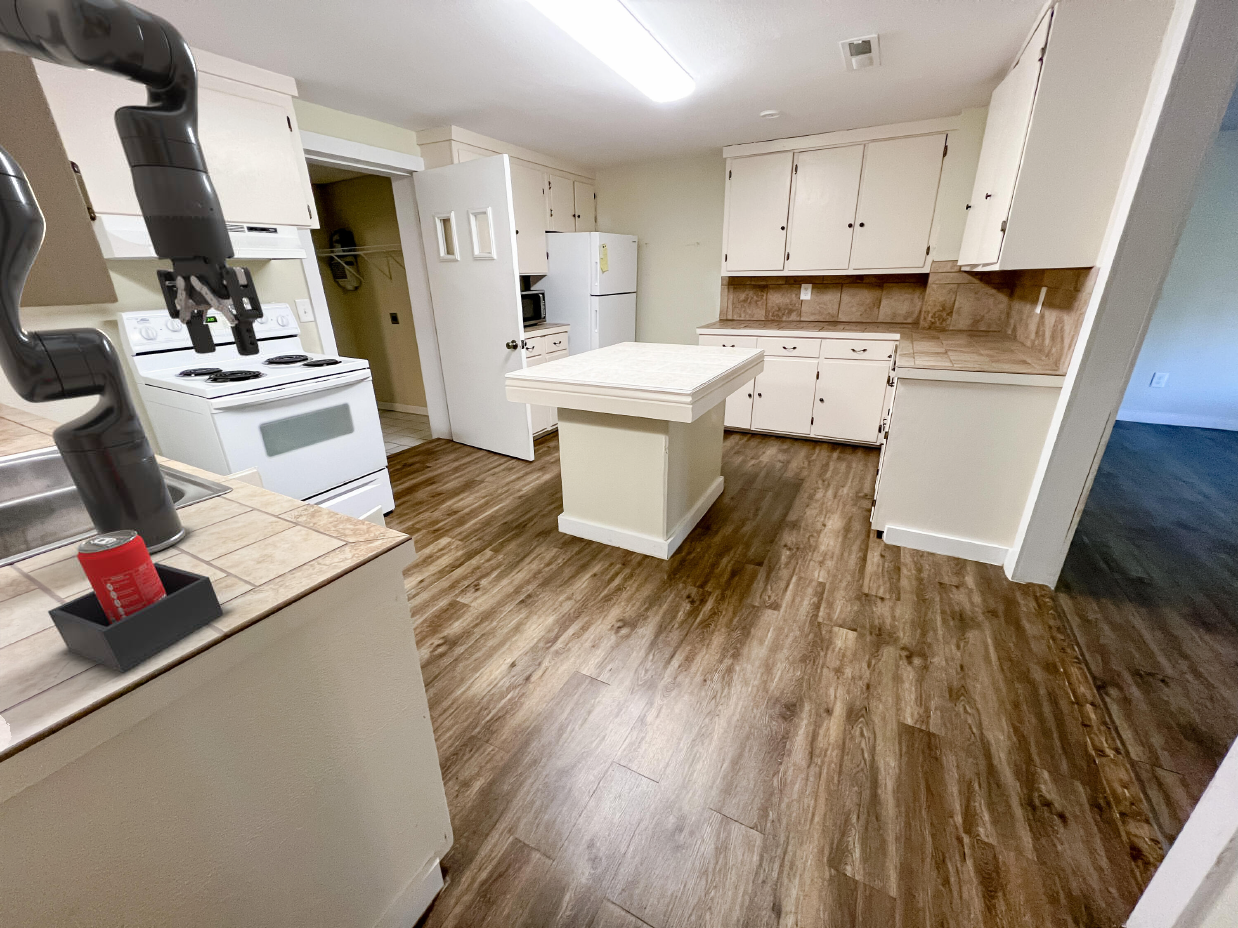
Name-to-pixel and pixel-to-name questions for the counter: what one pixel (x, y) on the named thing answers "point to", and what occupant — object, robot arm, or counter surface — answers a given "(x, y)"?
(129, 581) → the beverage can
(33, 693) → the counter surface
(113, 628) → the bin
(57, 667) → the counter surface
